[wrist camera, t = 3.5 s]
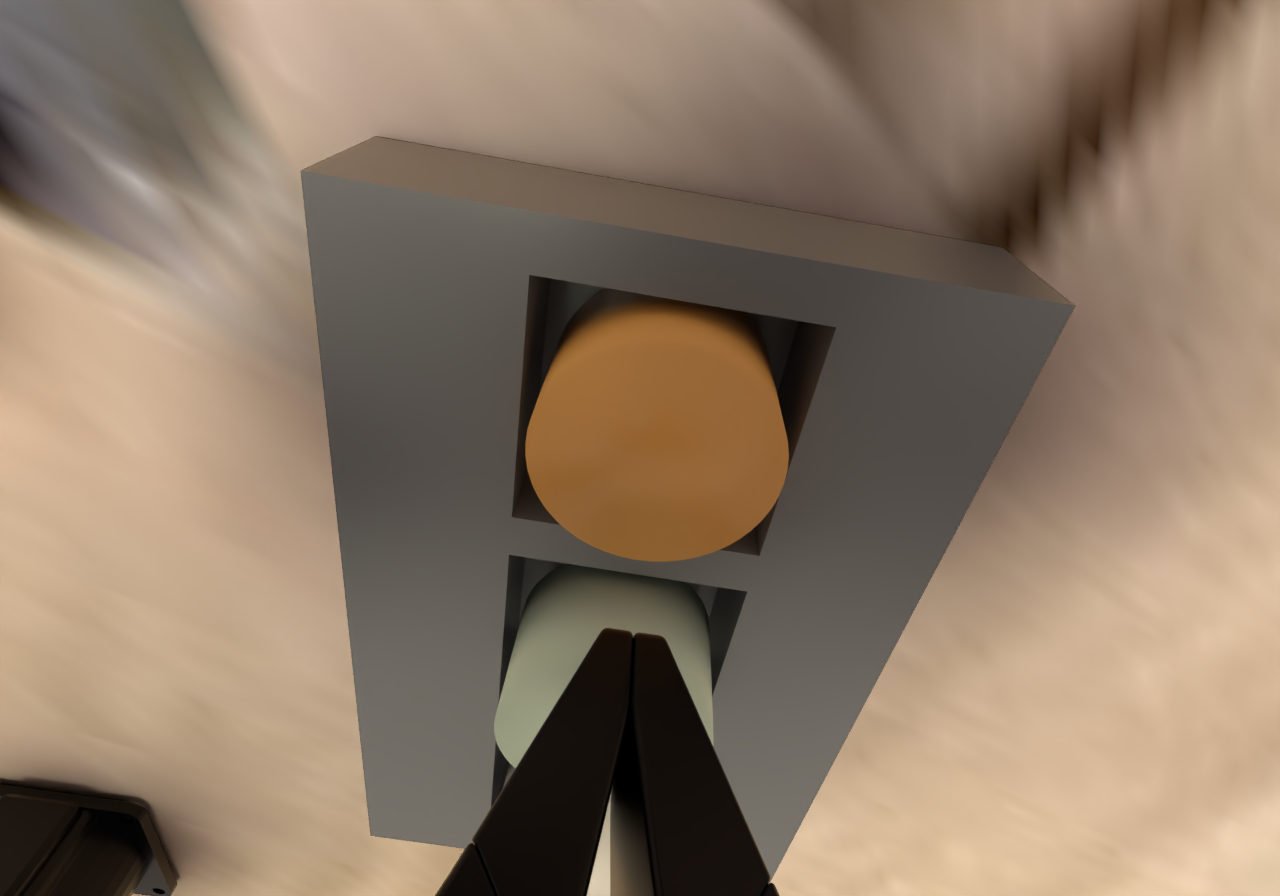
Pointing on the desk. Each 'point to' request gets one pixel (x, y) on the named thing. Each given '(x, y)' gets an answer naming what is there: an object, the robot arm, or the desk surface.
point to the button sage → (567, 628)
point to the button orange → (658, 428)
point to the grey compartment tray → (537, 544)
